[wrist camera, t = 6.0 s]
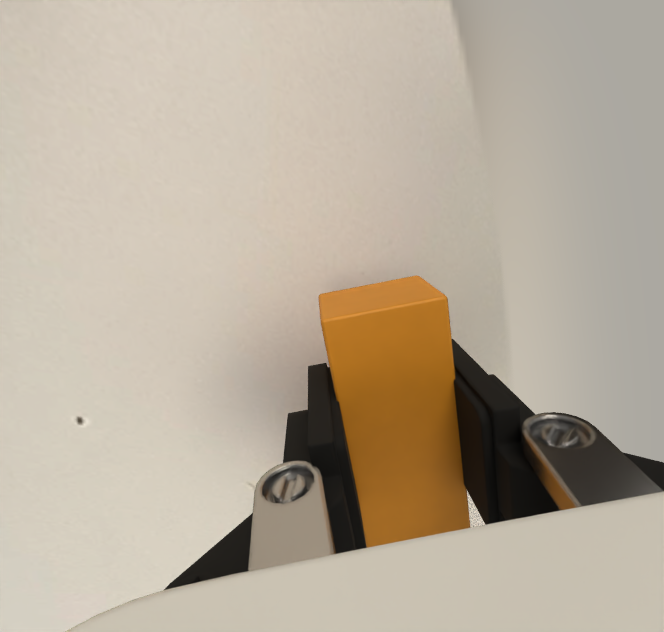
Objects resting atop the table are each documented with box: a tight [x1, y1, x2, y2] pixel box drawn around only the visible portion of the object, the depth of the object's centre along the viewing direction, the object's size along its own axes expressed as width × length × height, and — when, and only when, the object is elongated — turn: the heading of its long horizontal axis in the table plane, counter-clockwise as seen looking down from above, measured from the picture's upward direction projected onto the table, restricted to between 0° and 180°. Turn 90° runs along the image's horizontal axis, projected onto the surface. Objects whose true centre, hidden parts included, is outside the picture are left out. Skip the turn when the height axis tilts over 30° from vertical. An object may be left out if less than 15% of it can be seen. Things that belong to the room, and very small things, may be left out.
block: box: [319, 276, 470, 548], centre depth 11 cm, size 7×3×2 cm, turn 11°
